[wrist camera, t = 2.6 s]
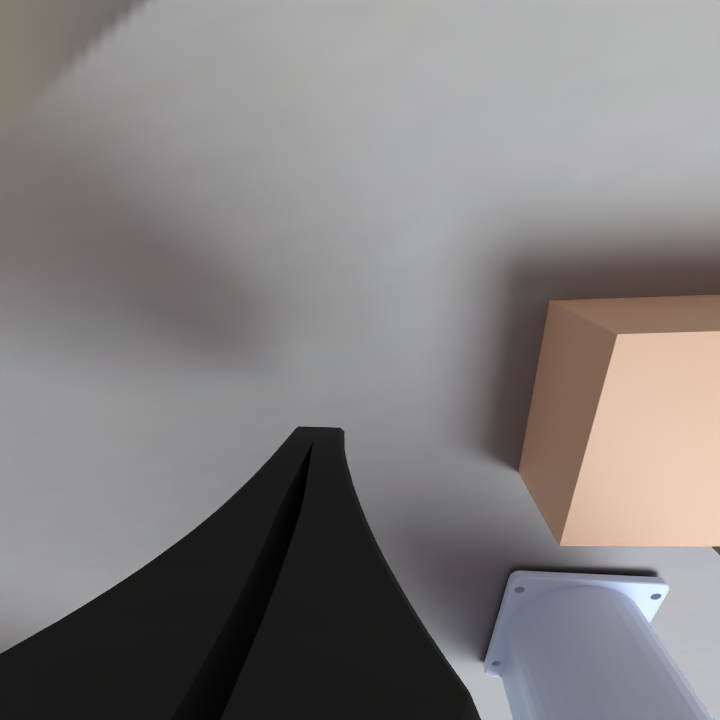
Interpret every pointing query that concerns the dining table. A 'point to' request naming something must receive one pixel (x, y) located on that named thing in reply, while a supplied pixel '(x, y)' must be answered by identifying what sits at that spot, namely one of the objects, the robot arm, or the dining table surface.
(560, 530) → the carton
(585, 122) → the dining table surface
